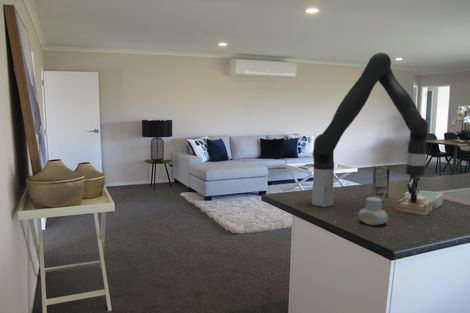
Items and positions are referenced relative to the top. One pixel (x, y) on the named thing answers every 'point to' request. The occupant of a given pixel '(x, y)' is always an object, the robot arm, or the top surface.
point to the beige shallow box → (415, 206)
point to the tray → (429, 197)
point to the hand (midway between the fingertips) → (413, 202)
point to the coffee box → (380, 183)
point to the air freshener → (373, 212)
